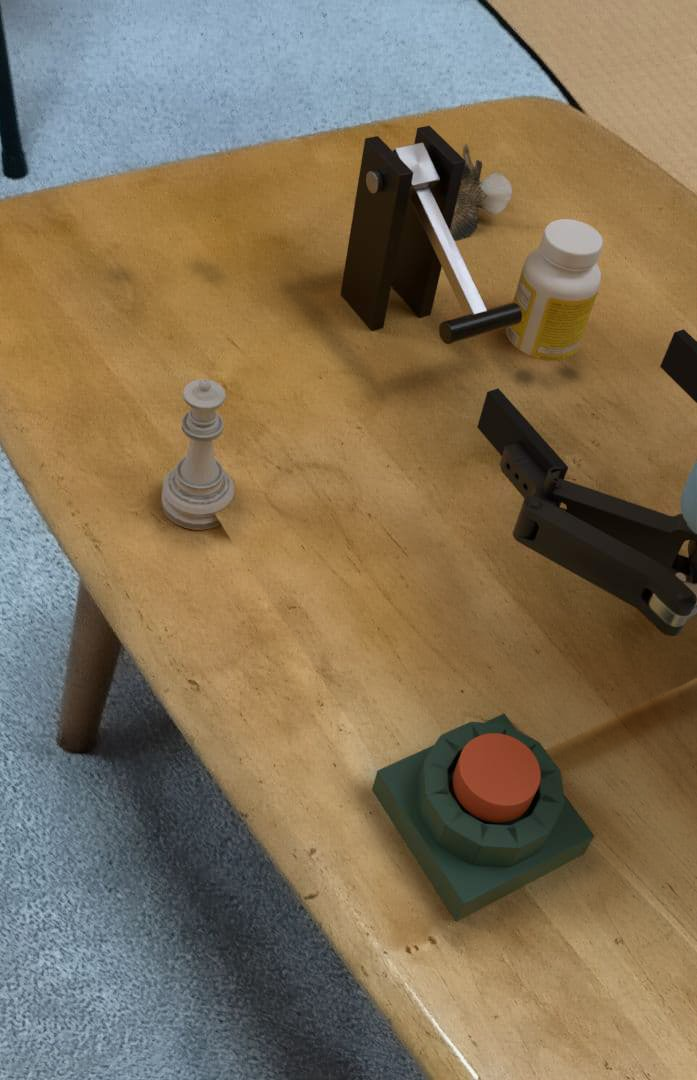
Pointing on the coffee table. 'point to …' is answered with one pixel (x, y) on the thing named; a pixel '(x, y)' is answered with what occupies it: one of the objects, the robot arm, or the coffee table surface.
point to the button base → (478, 823)
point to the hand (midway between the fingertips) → (582, 376)
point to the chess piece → (199, 463)
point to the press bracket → (396, 230)
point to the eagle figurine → (478, 197)
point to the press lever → (451, 256)
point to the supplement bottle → (557, 291)
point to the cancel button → (496, 778)
